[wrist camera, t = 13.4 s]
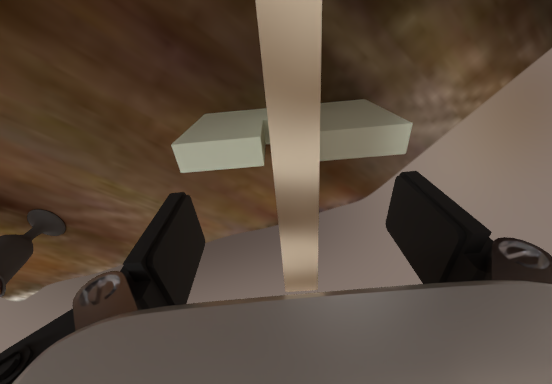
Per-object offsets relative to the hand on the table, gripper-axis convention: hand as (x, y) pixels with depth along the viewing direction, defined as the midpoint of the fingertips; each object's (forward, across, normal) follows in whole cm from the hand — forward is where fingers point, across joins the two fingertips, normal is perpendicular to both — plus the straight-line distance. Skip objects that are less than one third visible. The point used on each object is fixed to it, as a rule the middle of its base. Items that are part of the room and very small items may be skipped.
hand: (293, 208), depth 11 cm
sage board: (+18, -1, 0) cm, 18 cm away
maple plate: (+18, -1, 0) cm, 18 cm away
